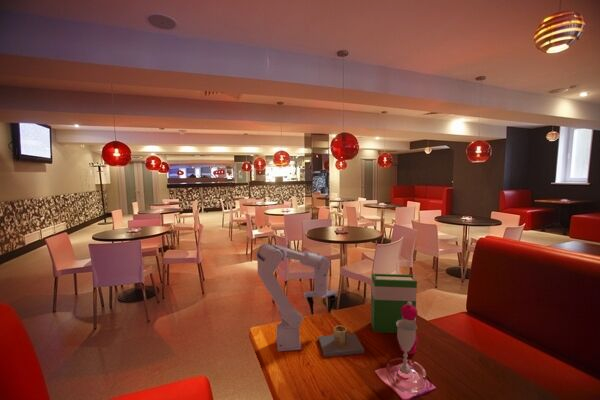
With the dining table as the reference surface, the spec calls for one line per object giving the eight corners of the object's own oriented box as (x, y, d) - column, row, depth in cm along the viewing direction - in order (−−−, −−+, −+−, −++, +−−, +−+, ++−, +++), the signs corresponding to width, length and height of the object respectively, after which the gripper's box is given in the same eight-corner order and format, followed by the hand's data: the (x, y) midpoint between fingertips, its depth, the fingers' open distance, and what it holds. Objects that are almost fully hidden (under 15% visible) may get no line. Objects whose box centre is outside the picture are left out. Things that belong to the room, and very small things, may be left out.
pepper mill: (419, 356, 105) (421, 306, 103) (399, 354, 107) (401, 305, 105) (415, 344, 112) (417, 298, 110) (396, 342, 114) (398, 296, 112)
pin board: (324, 357, 105) (324, 343, 105) (318, 339, 116) (318, 327, 115) (364, 352, 107) (364, 339, 107) (354, 336, 118) (354, 324, 118)
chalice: (398, 363, 102) (400, 317, 100) (417, 371, 97) (420, 323, 95) (391, 374, 96) (393, 326, 94) (411, 384, 92) (413, 333, 90)
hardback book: (409, 324, 127) (411, 274, 125) (414, 333, 120) (417, 281, 118) (370, 322, 129) (372, 273, 126) (373, 331, 122) (375, 279, 119)
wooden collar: (336, 347, 109) (336, 332, 108) (332, 339, 114) (333, 325, 113) (348, 345, 109) (348, 331, 109) (344, 338, 114) (344, 324, 114)
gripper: (305, 287, 113) (305, 318, 115) (339, 285, 115) (339, 316, 117) (303, 281, 120) (303, 310, 122) (335, 279, 122) (334, 308, 124)
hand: (320, 312), depth 120 cm, fingers open, 7 cm apart
